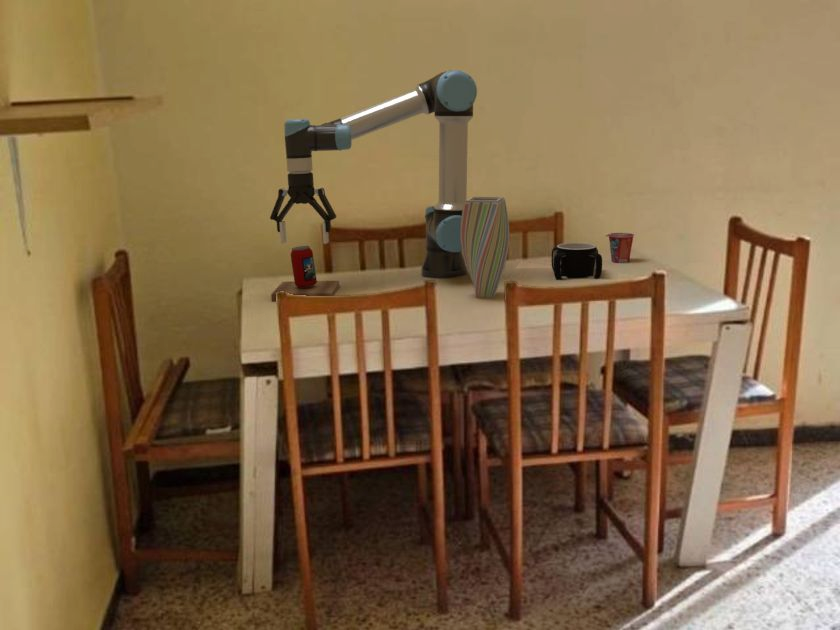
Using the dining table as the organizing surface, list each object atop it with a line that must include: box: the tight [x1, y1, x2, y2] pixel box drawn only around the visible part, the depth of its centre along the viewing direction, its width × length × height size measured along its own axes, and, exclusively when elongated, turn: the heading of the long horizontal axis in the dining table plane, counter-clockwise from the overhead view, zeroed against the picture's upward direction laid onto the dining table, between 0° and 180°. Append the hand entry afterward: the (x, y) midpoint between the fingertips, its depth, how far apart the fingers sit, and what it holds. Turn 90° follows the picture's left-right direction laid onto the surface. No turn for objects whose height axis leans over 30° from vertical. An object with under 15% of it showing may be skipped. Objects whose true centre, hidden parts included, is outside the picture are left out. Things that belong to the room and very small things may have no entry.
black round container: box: [550, 242, 603, 281], centre depth 279 cm, size 16×16×12 cm
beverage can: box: [290, 245, 318, 288], centre depth 273 cm, size 7×7×12 cm
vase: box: [460, 196, 510, 299], centre depth 254 cm, size 14×14×30 cm
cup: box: [605, 232, 635, 264], centre depth 298 cm, size 9×8×12 cm
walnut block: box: [270, 280, 340, 303], centre depth 274 cm, size 18×18×3 cm
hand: (304, 243), depth 270 cm, fingers open, 13 cm apart
